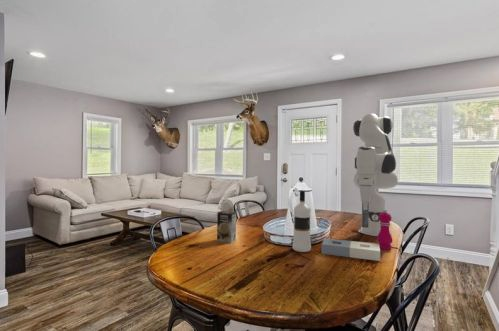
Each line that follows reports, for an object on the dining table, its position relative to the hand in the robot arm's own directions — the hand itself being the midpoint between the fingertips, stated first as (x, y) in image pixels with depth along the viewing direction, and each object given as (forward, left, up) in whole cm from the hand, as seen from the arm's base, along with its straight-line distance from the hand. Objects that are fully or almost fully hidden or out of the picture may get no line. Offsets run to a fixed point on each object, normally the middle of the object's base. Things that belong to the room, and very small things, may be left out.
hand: (365, 208), depth 136 cm
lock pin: (0, 0, -9) cm, 9 cm away
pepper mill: (-16, +10, -22) cm, 29 cm away
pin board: (0, -6, -22) cm, 23 cm away
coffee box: (+5, -71, -22) cm, 75 cm away
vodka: (+4, -29, -22) cm, 37 cm away
